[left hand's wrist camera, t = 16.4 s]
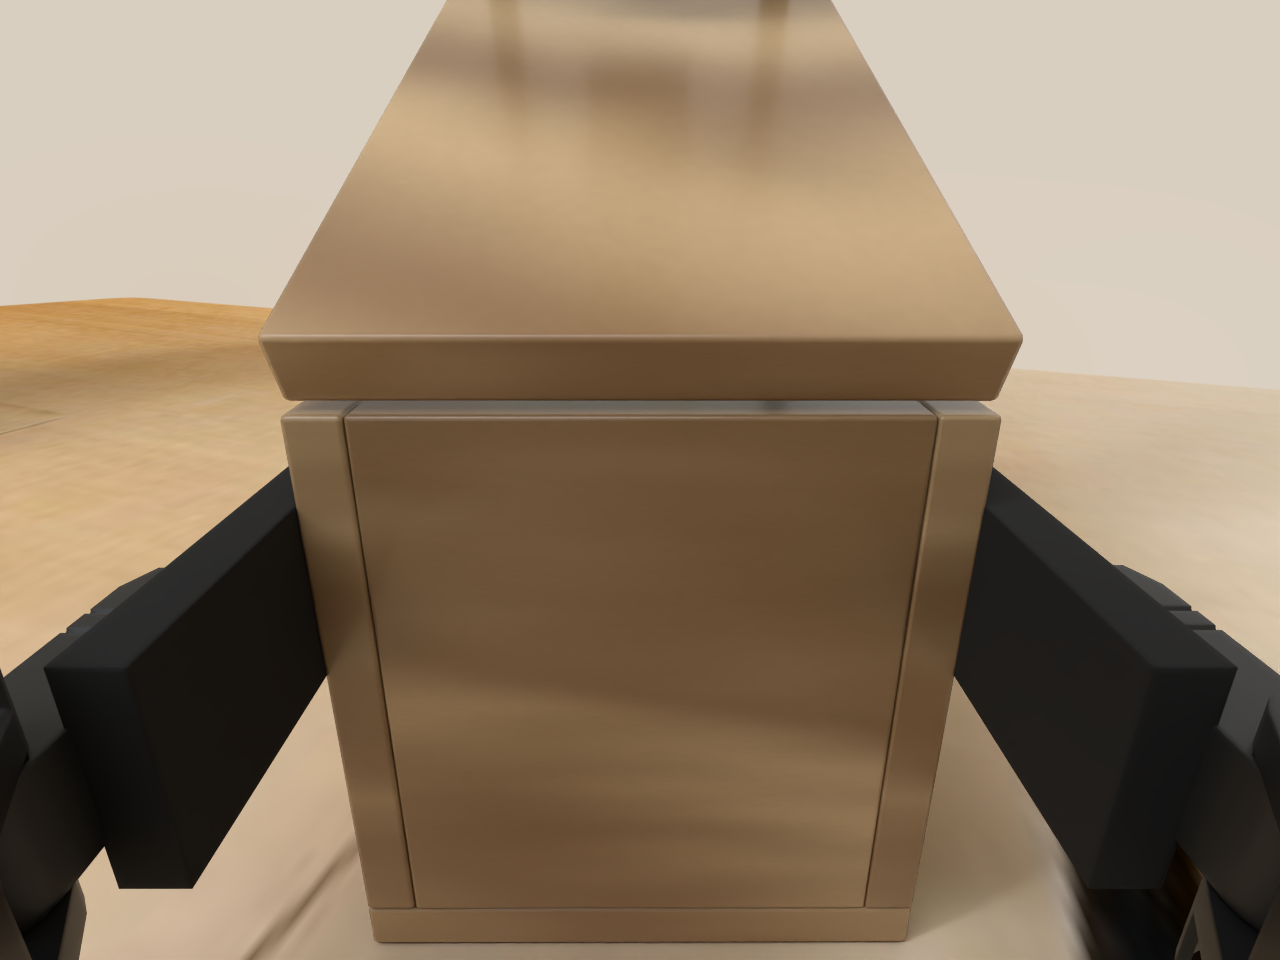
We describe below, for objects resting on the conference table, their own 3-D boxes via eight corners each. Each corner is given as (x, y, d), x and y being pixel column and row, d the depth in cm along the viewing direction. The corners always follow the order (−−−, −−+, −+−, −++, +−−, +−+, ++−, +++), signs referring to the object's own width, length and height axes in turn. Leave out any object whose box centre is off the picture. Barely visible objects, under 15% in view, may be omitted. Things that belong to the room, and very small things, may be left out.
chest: (517, 526, 29) (500, 267, 25) (760, 526, 29) (776, 267, 25) (373, 944, 13) (276, 416, 10) (906, 943, 13) (1004, 416, 10)
